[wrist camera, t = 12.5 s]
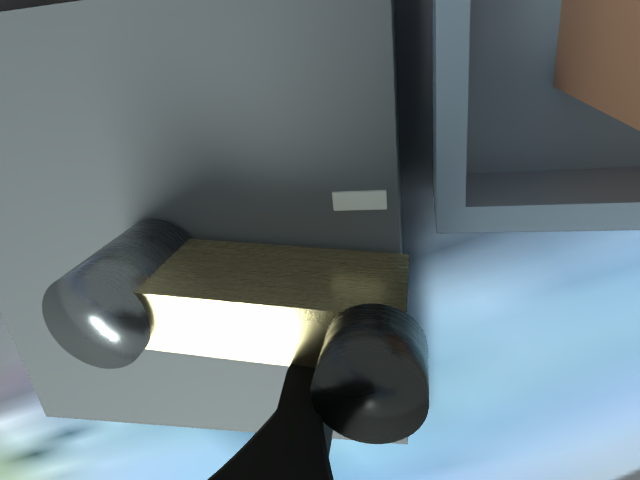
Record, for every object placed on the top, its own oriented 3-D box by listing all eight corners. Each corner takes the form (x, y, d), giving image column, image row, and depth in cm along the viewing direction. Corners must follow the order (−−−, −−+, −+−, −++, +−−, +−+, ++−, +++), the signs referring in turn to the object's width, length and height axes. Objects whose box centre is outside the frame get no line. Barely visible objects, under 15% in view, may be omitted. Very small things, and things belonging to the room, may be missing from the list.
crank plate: (-84, 28, 14) (-129, 29, 13) (392, -38, 11) (388, -44, 10) (66, 394, 20) (44, 418, 19) (408, 417, 17) (407, 446, 16)
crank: (131, 292, 15) (18, 399, 11) (114, 216, 14) (-18, 301, 10) (422, 320, 13) (423, 458, 9) (430, 236, 12) (435, 350, 8)
